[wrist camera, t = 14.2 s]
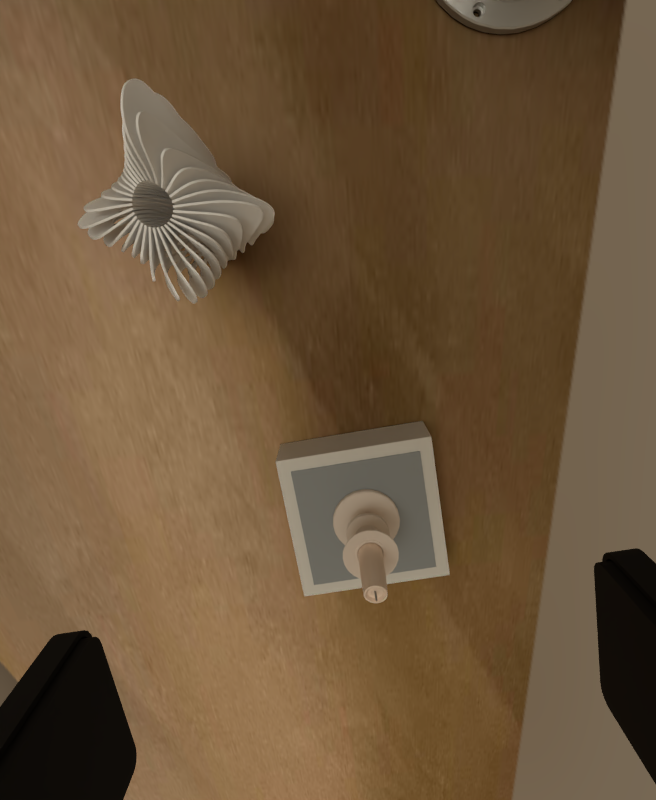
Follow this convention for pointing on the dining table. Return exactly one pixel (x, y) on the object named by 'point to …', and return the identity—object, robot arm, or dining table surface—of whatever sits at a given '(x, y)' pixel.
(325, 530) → the plinth
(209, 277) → the shell sculpture
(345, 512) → the candle
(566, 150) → the dining table surface
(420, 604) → the dining table surface
